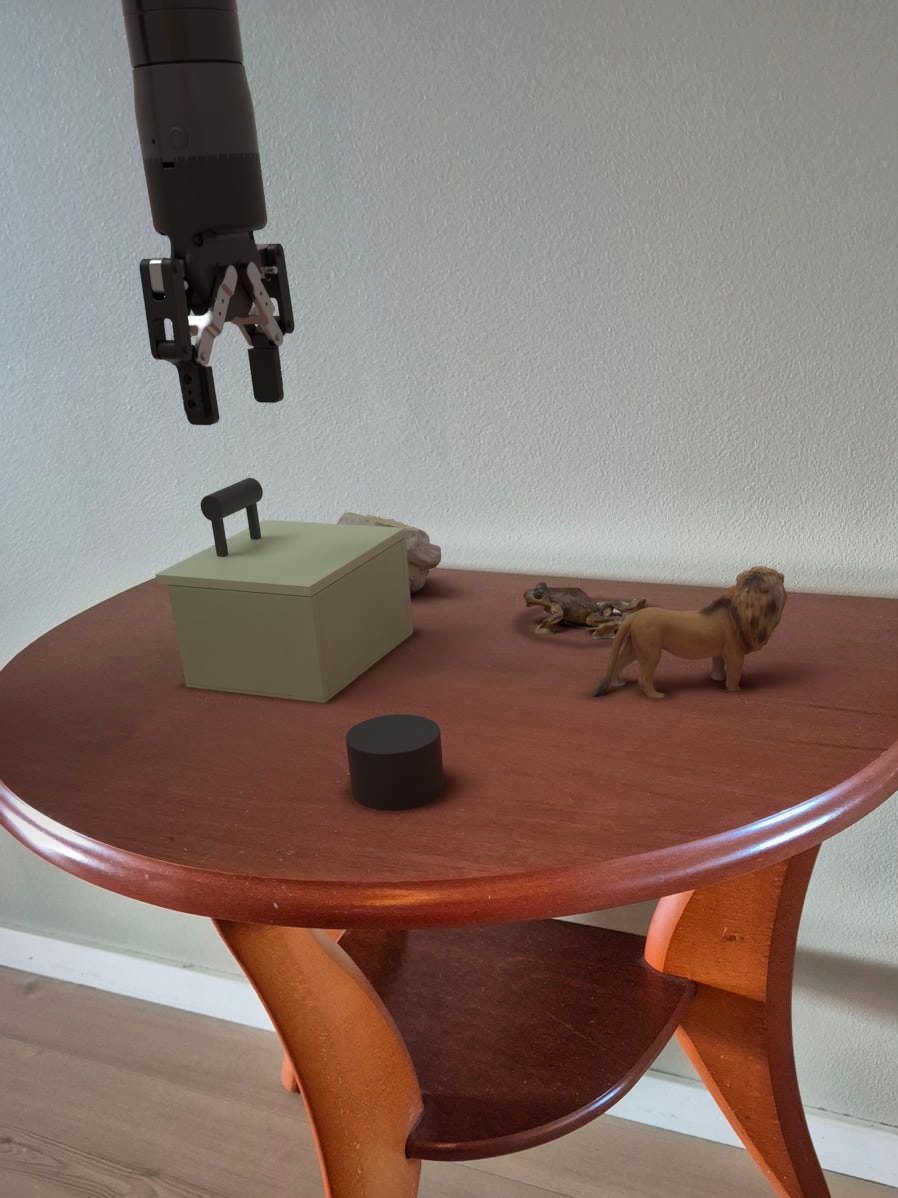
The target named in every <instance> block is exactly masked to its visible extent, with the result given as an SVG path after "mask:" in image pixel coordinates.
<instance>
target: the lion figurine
mask: <svg viewBox="0 0 898 1198" xmlns="http://www.w3.org/2000/svg"><path fill="white" fill-rule="evenodd" d="M735 580H736V581H735V582H736V584H734V585H731V586H730V587H729V588H728V589H727V590H726V591H724V592H723V593H722V594H721V595H720V596H718V597H717V599H715V600H713V601H712V602H711V603H710V604H709V605H707V606H706V607H702V608H701V609H697V610H671V609H667V608H662V607H658V606H648V608H645V609H642V610H639V611H636V612H634V613H632V614H631V615H629V616H628V617H627V618H626V619H625V620H624V621H623V623H620V625H619V627H618V630H617V631H616V632H615V634H616V636H615V638H613V642H612V645H611V649H610V653H609V658H608V662H607V668H606V673H605V676H604V677H603V680H602V682H601V683H600V685H598V687H597V688H596V690H595V691H594V693H592V697H602V696H604V695H605V693H606V692H607V690H608V689H609V687H623V686H625V685H626V684H627V682H626V681H625V680H622V679H620V678H619V677H620V675H621V674H622V672H623V670H624V669H625V668H626V667H628V666H629V665H631V664H632V663H633V662H635V661H636V660H637V661H638V664H639V668H640V672H639V676H638V680H637V681H638V685H639V686H640V688H641V690H642V691H643V693H644V695H645V696H646V697H647V698H655V699H662V698H665V697H666V694H665V693H663V692H658V691H657V690H656V689H655V687H654V683H653V681H654V680H653V679H654V675H655V673H656V671H657V668H658V666H659V664H660V662H661V660H662V659H661V658H662V652H663V651H665V652H667V653H669V654H670V655H672V656H674V657H677V658H679V659H680V658H681V659H685V660H690V661H691V660H692V661H696V660H697V661H698V660H705V659H706V660H707V659H711V662H712V663H711V665H712V667H711V673H710V678H711V679H712V680H715V681H721V682H722V681H725V687H726V690H728V691H730V692H737V691H741V690H742V687H740V686H739V685H740V684H739V683H740V679H741V677H742V676H741V675H742V673H743V672H742V671H743V668H744V663H745V656H746V655H749V654H750V653H753V652H759V651H761V649H762V648H763V647H765V646H766V645H767V644H768V642H769V640H770V639H771V636H772V634H773V633H774V631H775V630H776V628H777V627H778V626H779V624H780V622H781V619H782V614H783V612H784V608H785V606H786V604H787V599H788V595H787V590H786V588H785V585H784V584H785V574H784V573H782V572H779V571H778V570H776V569H774V568H770V567H767V566H764V565H755V566H752V567H751V568H749V569H746V570H743V572H741V573H738V574H737V576H736V577H735ZM624 639H625V641H624ZM623 643H624V644H623ZM725 671H726V674H725Z"/></svg>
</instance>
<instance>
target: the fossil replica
mask: <svg viewBox="0 0 898 1198" xmlns="http://www.w3.org/2000/svg"><path fill="white" fill-rule="evenodd" d="M336 524H345V525H363V526H380V527H398V528H405V539H406V551H407V563H408V575H409V588H410V594H412V593H416V592H417V591H419V590H420V589H422V588H423V587H424V586H425V584H426V582H427V576H428V575H430V570H431V569H435V568H437V566H439V565H440V563H441V561H442V548H441V546H440V545H437V544H433V543H430V542H431V540H430V536H429V534H428V533H427V532H426V531H424V530H423V529H421V528H418V527H416V526H411V525H408V524H405V523H403V522H402V521H397V520H395V519H394V518H382V517H380V516H376V515H372V514H367V515H363V514H358V513H355V512H350V511H349V512H344V513H343V514H342V515H341V516H340V517H339V519H338V521H337V523H336Z"/></svg>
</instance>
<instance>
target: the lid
mask: <svg viewBox="0 0 898 1198" xmlns="http://www.w3.org/2000/svg"><path fill="white" fill-rule="evenodd" d="M263 490H264V489H263V487H262V485H261V483H260V482H259V481H258V479H255V478H253V477H247V478H244V479H242V480H240V481H238V482H237V481H236V482H235V483H233V484H231V485H228V486H225V487H223V488H221V489H219V490H216V491H214V492H212V493H209V494H208V495H205V496H204V497H203V498H201V501H200V511H201V514H202V515H203V517H205V519H206V520H208V521H210V522H211V529H212V536H213V540H214V545H212V546H209V547H207V548H205V549H204V550H202V551H199V552H198V553H195V554H194V555H191V556H189V557H187V558H185V559H183V560H181V561H179V562H177V563H175V564H173V565H171V566H169V567H167V568H165V569H163V570H161V571H159V572H157V573H155V579H156V584H157V585H164V586H168V585H175V586H187V587H199V588H212V589H224V590H236V591H248V592H260V593H272V594H284V595H297V596H309V597H311V596H313V595H315V594H316V593H318V592H319V591H321V590H322V589H324V588H326V587H327V586H329V585H330V584H332V583H334V582H335V581H337V580H338V579H340V578H341V577H343V576H345V575H346V574H348V573H349V572H351V571H353V570H354V569H356V568H357V567H359V566H360V565H362V564H364V563H365V562H367V561H368V560H370V559H372V558H373V557H375V556H376V555H378V554H379V553H381V552H383V551H384V550H386V549H387V548H389V547H391V546H392V545H394V544H395V543H397V542H398V541H400V540H402V539H403V538H405V528H398V527H380V526H363V525H345V524H337V523H325V522H311V521H310V522H309V521H294V520H293V521H291V520H273V519H264V520H262V521H260V518H259V512H258V502H260V501H261V500H262V499H263V496H264V491H263ZM244 509H245V512H246V518H247V526H248V528H246V529H244V530H242V531H240V532H238V533H236V534H234V535H231V536H230V537H228V538H227V535H226V530H225V523H224V519H225V518H227V517H230V516H231V515H234V514H236V513H238V512H240V511H242V510H244Z"/></svg>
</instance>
